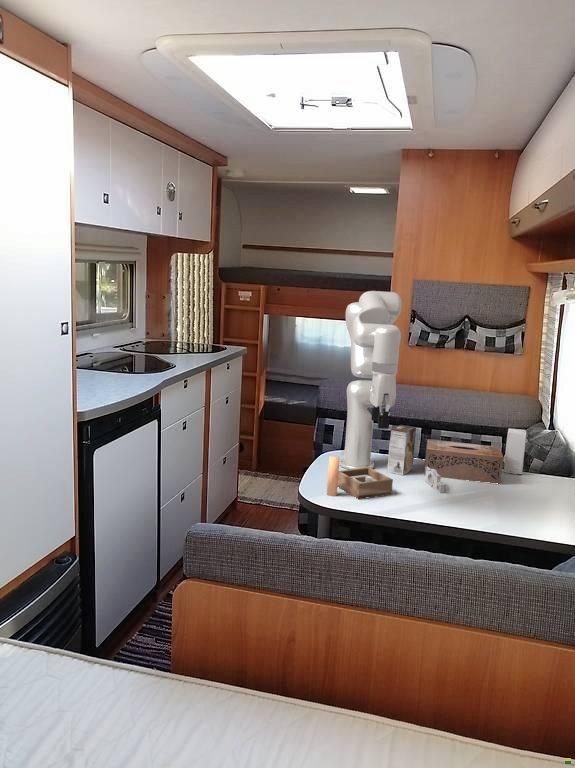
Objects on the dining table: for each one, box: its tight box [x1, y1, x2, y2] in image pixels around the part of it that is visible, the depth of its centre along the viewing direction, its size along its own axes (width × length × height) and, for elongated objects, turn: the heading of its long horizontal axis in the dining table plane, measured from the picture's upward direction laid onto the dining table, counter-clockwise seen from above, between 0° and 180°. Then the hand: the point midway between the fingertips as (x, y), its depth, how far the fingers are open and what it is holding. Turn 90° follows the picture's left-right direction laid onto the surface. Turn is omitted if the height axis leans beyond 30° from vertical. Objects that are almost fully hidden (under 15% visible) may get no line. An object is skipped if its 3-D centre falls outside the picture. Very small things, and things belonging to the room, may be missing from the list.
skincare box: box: [503, 428, 527, 475], centre depth 228 cm, size 8×7×16 cm
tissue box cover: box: [424, 438, 505, 485], centre depth 221 cm, size 26×14×10 cm, turn 77°
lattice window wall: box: [424, 467, 445, 494], centre depth 205 cm, size 12×2×6 cm, turn 13°
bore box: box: [337, 467, 394, 500], centre depth 198 cm, size 13×13×5 cm
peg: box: [326, 455, 341, 497], centre depth 192 cm, size 3×3×12 cm
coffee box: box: [387, 424, 417, 476], centre depth 220 cm, size 9×6×16 cm
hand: (379, 424), depth 186 cm, fingers open, 9 cm apart
